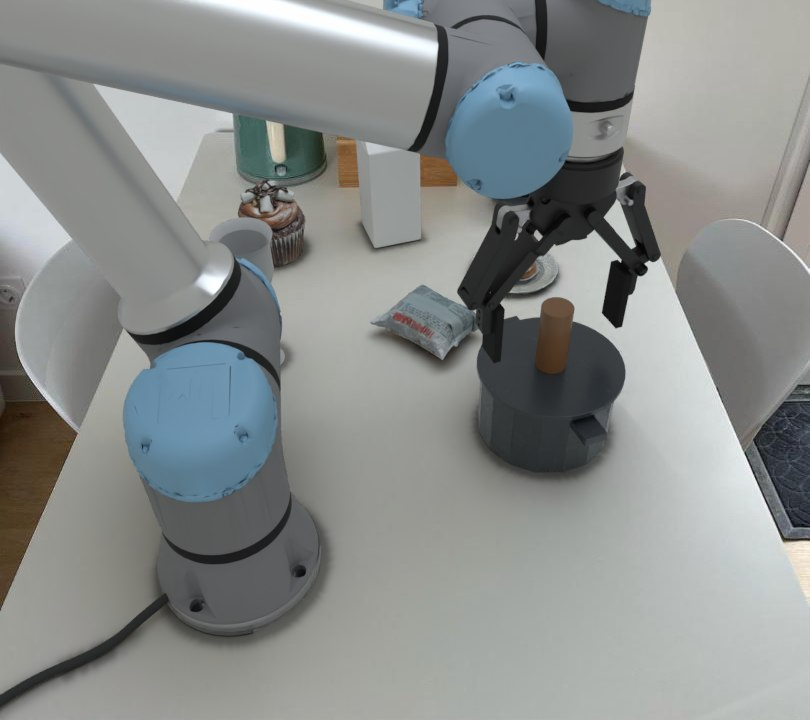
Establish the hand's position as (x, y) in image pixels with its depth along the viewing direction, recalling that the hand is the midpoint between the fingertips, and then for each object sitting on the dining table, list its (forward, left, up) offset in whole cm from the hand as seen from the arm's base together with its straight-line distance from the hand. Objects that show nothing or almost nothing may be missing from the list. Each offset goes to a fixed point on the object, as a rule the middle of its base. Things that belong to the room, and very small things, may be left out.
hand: (552, 336), depth 81 cm
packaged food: (-6, +19, -13) cm, 24 cm away
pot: (0, 0, -13) cm, 13 cm away
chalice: (-26, +23, -13) cm, 37 cm away
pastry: (+10, +27, -13) cm, 32 cm away
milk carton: (-2, +43, -13) cm, 45 cm away
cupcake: (-19, +45, -13) cm, 51 cm away
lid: (0, 0, -4) cm, 4 cm away
